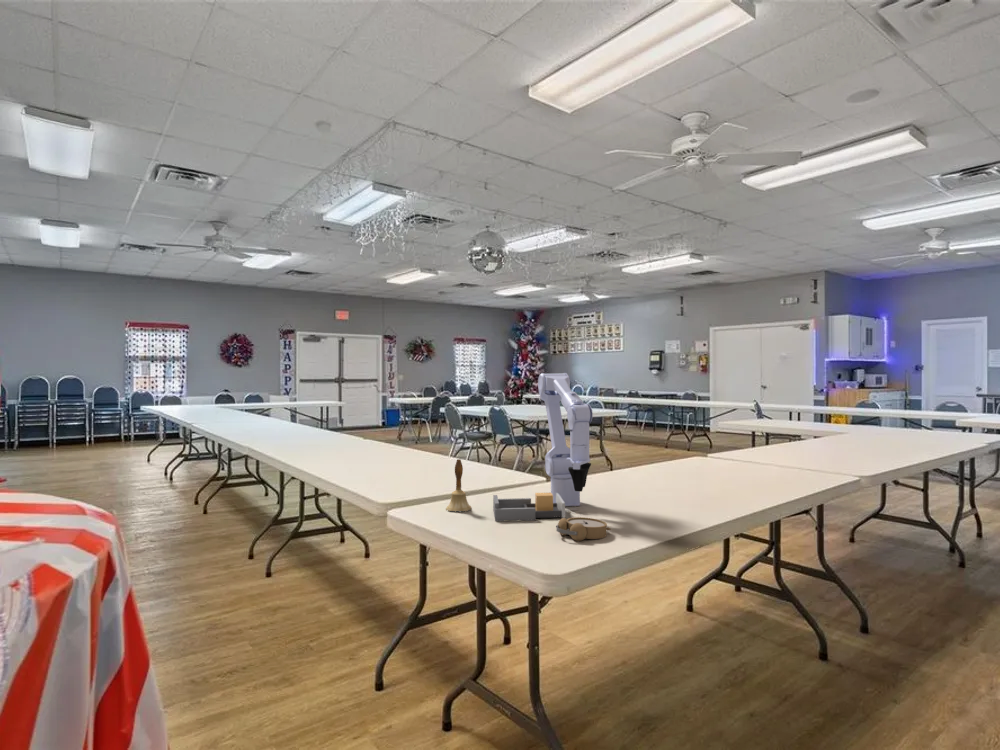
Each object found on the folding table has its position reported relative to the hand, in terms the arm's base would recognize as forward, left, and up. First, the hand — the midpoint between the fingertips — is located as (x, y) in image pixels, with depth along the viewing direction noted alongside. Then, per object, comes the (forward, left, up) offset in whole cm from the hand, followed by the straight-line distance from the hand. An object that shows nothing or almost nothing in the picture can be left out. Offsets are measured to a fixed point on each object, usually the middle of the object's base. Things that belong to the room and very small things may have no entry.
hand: (580, 488), depth 172 cm
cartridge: (+11, -4, -7) cm, 13 cm away
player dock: (+20, -4, -8) cm, 22 cm away
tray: (+11, -3, -8) cm, 14 cm away
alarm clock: (+3, +18, -9) cm, 21 cm away
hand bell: (+37, -12, -9) cm, 40 cm away
